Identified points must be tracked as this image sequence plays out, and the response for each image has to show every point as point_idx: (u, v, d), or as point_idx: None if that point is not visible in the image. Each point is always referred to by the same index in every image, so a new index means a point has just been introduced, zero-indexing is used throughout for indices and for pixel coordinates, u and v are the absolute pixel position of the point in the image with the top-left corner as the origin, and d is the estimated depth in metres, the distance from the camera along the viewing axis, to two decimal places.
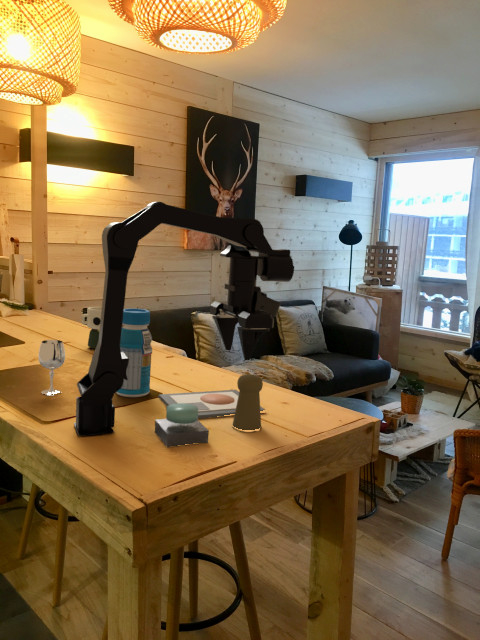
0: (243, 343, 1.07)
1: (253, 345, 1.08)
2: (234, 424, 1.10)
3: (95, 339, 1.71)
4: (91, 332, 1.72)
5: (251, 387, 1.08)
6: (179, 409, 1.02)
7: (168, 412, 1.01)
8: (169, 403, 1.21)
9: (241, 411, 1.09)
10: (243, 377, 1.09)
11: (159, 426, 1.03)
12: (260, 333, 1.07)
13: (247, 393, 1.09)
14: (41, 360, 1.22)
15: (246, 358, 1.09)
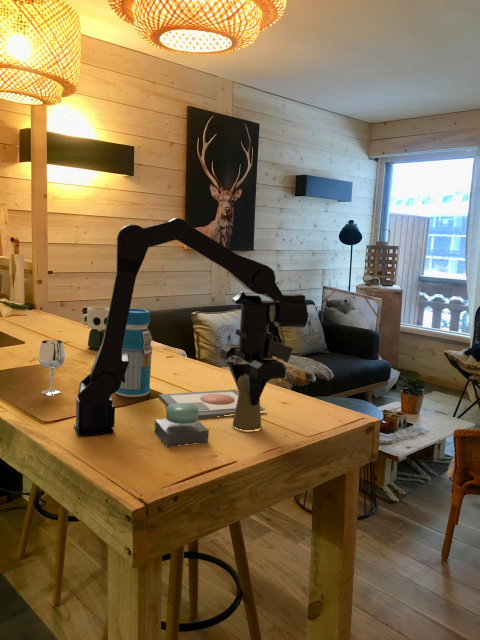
0: (250, 389, 1.06)
1: (260, 391, 1.07)
2: (234, 424, 1.10)
3: (95, 339, 1.71)
4: (91, 332, 1.72)
5: None
6: (179, 409, 1.02)
7: (168, 412, 1.01)
8: (169, 403, 1.21)
9: (241, 411, 1.09)
10: (243, 377, 1.09)
11: (159, 426, 1.03)
12: (267, 379, 1.07)
13: (247, 393, 1.09)
14: (41, 360, 1.22)
15: (253, 403, 1.08)
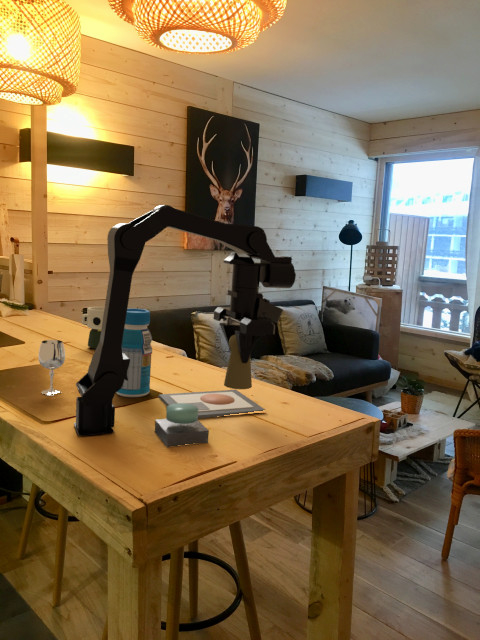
0: (240, 346, 1.10)
1: (250, 348, 1.11)
2: (225, 382, 1.14)
3: (95, 339, 1.71)
4: (91, 332, 1.72)
5: None
6: (179, 409, 1.02)
7: (168, 412, 1.01)
8: (169, 403, 1.21)
9: (232, 369, 1.13)
10: (234, 336, 1.13)
11: (159, 426, 1.03)
12: (257, 337, 1.10)
13: (238, 351, 1.12)
14: (41, 360, 1.22)
15: (243, 361, 1.12)
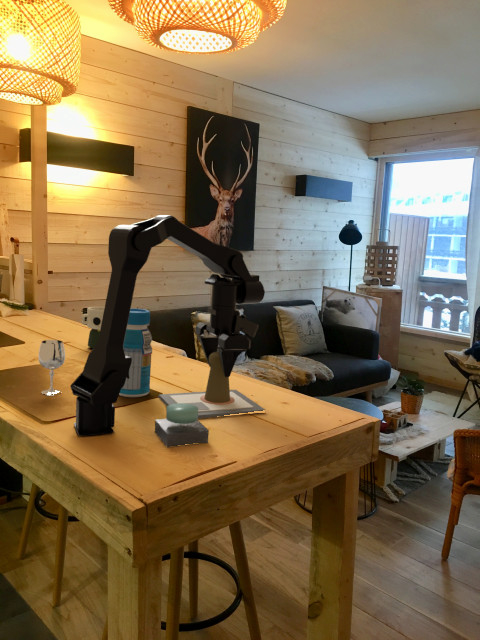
0: (223, 362, 1.18)
1: (232, 364, 1.20)
2: (206, 396, 1.24)
3: (95, 339, 1.71)
4: (91, 332, 1.72)
5: (220, 363, 1.22)
6: (179, 409, 1.02)
7: (168, 412, 1.01)
8: (169, 403, 1.21)
9: (212, 384, 1.23)
10: (213, 354, 1.23)
11: (159, 426, 1.03)
12: (238, 353, 1.19)
13: (217, 368, 1.23)
14: (41, 360, 1.22)
15: (226, 375, 1.20)
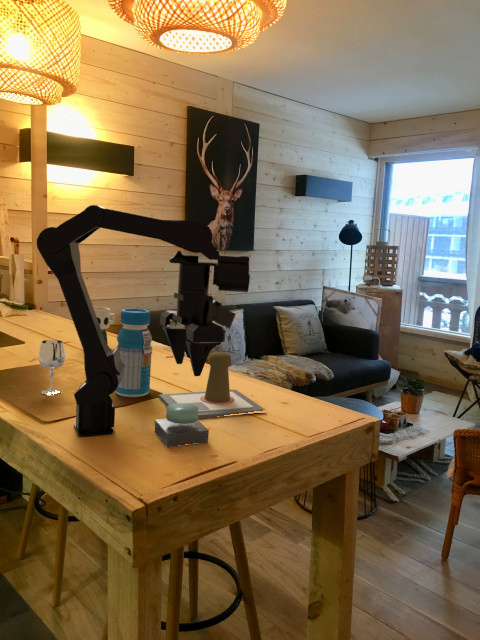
0: (192, 358, 0.97)
1: (203, 360, 0.98)
2: (206, 396, 1.24)
3: None
4: None
5: (220, 362, 1.22)
6: (179, 409, 1.02)
7: (168, 412, 1.01)
8: (169, 403, 1.21)
9: (212, 384, 1.23)
10: (213, 353, 1.23)
11: (159, 426, 1.03)
12: (211, 347, 0.98)
13: (217, 368, 1.23)
14: (41, 360, 1.22)
15: (196, 374, 0.99)
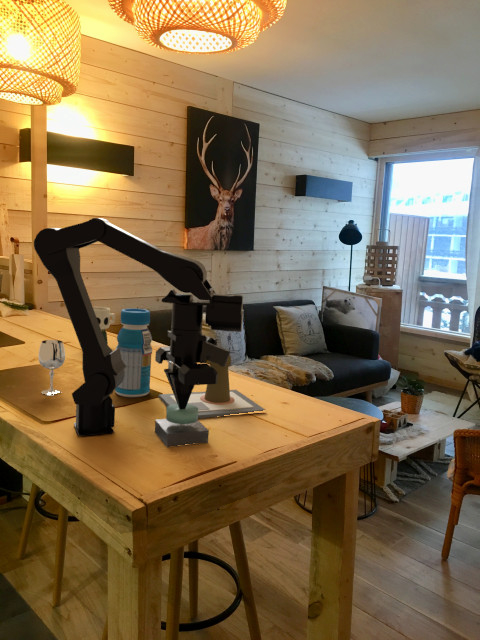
0: (176, 392, 1.00)
1: (188, 394, 1.01)
2: (206, 396, 1.24)
3: None
4: None
5: None
6: (179, 410, 1.02)
7: (168, 412, 1.01)
8: (169, 403, 1.21)
9: (212, 384, 1.23)
10: None
11: (159, 426, 1.03)
12: None
13: (217, 368, 1.23)
14: (41, 360, 1.22)
15: (181, 407, 1.02)
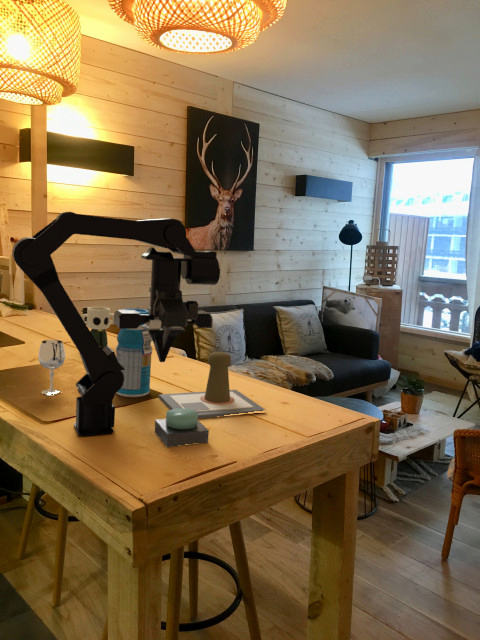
0: None
1: (157, 346, 1.06)
2: (206, 396, 1.24)
3: (95, 339, 1.71)
4: (91, 332, 1.72)
5: (220, 362, 1.22)
6: (179, 415, 1.02)
7: (168, 417, 1.01)
8: (169, 403, 1.21)
9: (211, 384, 1.23)
10: (213, 353, 1.23)
11: (159, 426, 1.03)
12: None
13: (216, 368, 1.23)
14: (41, 360, 1.22)
15: (159, 359, 1.08)
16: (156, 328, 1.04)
